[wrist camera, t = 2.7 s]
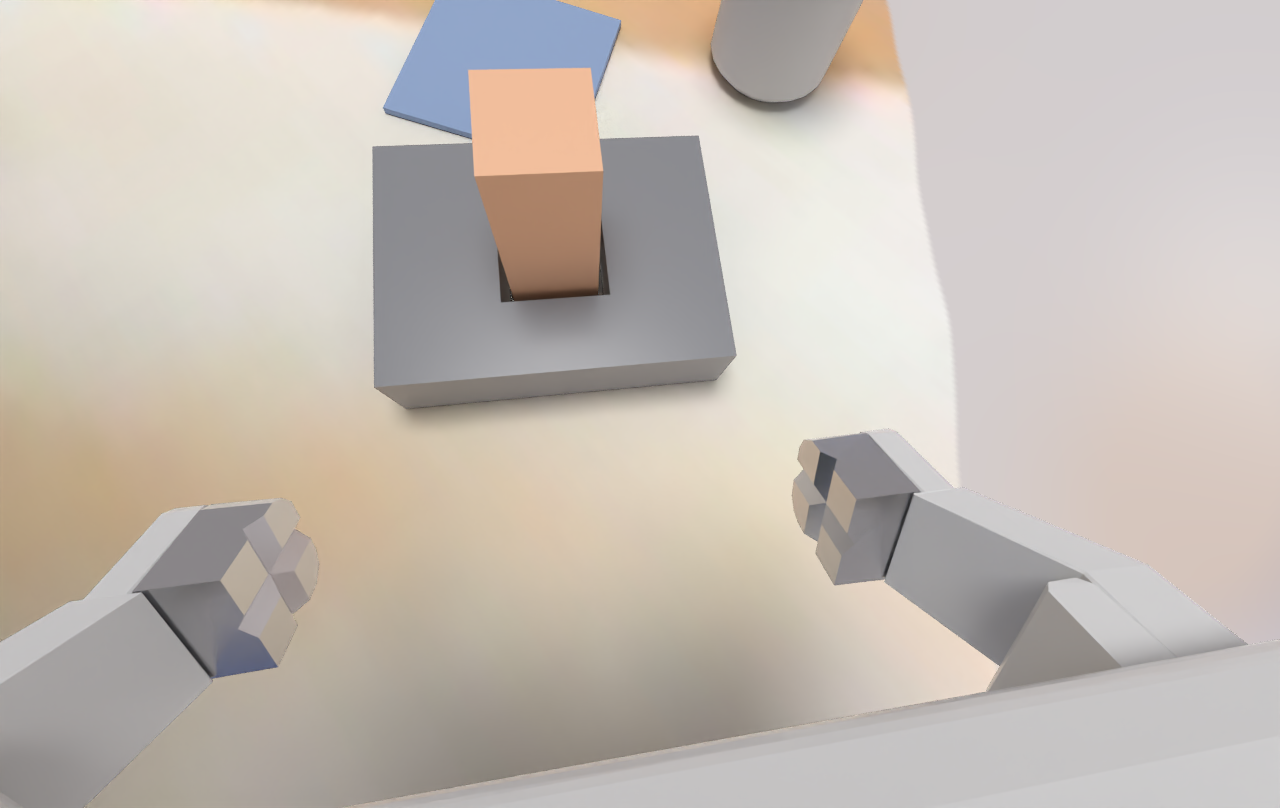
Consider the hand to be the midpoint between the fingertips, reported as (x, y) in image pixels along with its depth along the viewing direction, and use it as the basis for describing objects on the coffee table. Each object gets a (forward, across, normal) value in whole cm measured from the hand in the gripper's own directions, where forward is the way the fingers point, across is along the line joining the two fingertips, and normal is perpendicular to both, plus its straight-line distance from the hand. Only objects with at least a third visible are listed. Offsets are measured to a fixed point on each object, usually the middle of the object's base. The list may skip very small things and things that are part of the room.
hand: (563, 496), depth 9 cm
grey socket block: (+21, 0, +4) cm, 22 cm away
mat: (+32, +2, -7) cm, 32 cm away
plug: (+21, 0, +4) cm, 22 cm away
